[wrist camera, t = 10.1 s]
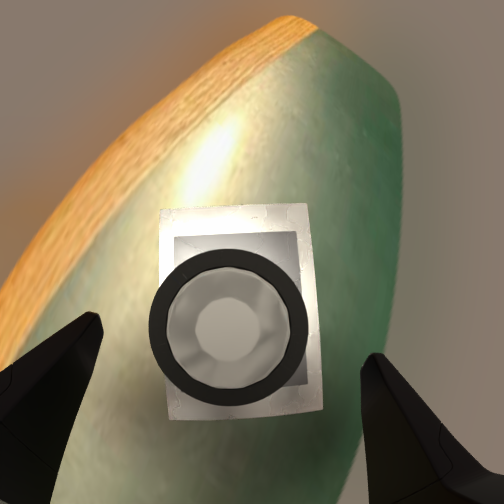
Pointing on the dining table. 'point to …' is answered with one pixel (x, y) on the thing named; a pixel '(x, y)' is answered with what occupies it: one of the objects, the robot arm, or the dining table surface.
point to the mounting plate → (276, 250)
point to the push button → (228, 327)
